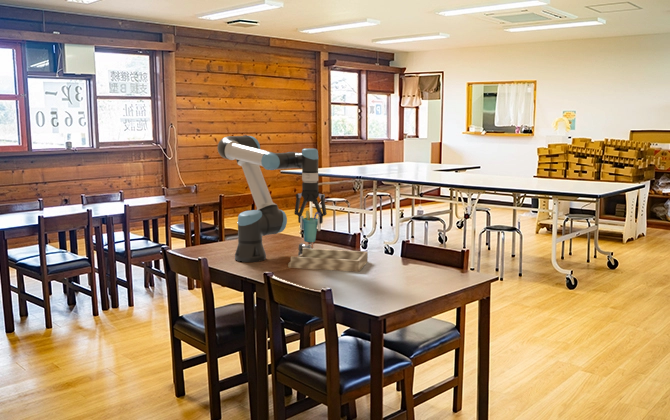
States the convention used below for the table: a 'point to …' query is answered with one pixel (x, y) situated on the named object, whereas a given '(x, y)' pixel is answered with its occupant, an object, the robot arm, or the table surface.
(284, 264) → the table surface
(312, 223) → the cup
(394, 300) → the table surface
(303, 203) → the robot arm
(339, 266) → the tray
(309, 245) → the winch
